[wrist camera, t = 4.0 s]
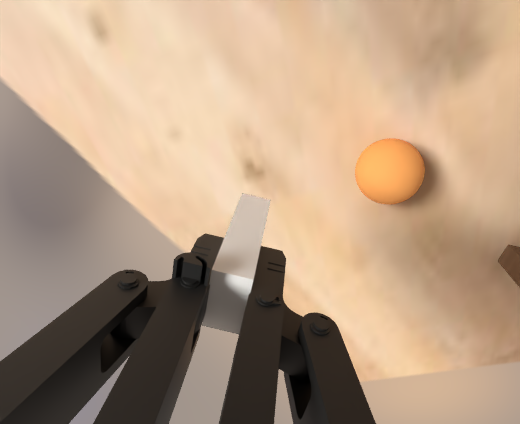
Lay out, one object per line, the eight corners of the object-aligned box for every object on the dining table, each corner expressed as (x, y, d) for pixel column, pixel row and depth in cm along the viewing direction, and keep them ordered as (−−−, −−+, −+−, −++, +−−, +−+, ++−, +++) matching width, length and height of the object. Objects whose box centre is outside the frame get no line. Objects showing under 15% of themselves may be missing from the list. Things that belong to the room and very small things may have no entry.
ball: (344, 181, 34) (350, 206, 29) (363, 124, 31) (373, 142, 26) (400, 194, 34) (416, 222, 29) (424, 139, 31) (446, 159, 26)
